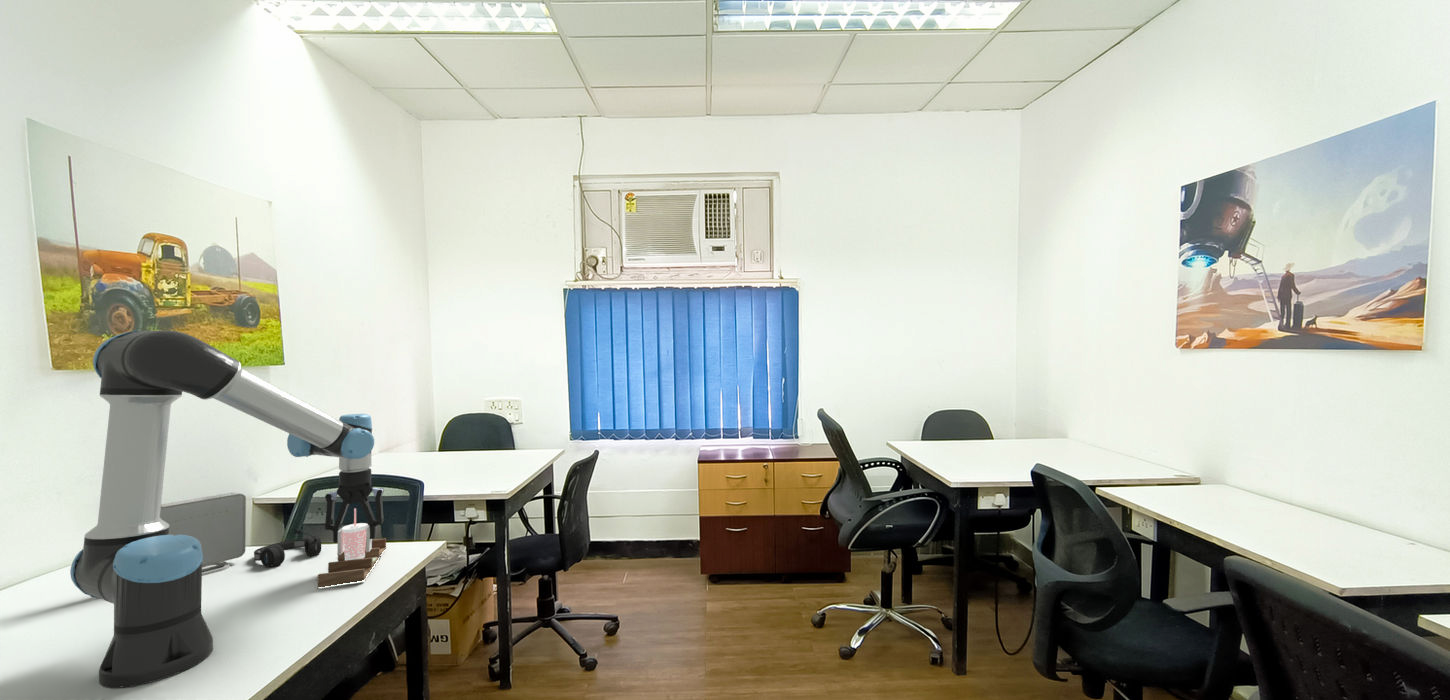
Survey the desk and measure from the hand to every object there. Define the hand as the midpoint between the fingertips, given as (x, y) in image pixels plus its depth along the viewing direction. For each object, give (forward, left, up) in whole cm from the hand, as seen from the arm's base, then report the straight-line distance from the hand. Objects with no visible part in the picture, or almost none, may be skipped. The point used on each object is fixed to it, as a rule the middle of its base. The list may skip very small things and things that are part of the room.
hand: (354, 551), depth 151 cm
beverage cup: (0, 0, -2) cm, 2 cm away
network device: (+10, +42, -5) cm, 43 cm away
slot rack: (0, 0, -4) cm, 4 cm away
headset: (+16, +21, -5) cm, 27 cm away
